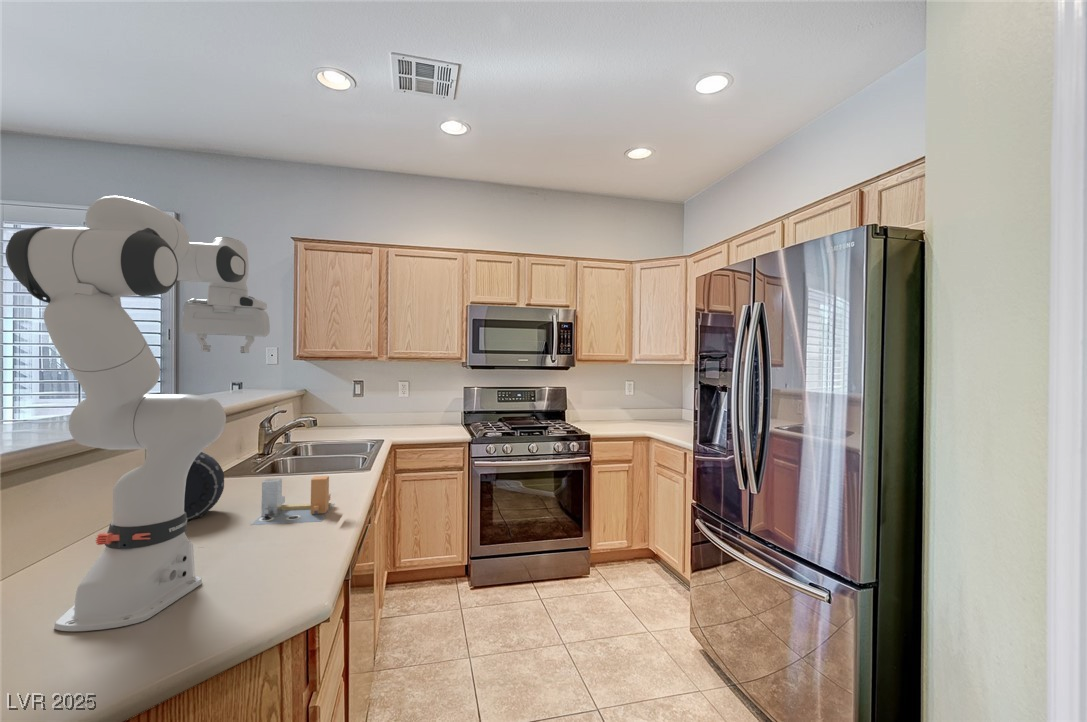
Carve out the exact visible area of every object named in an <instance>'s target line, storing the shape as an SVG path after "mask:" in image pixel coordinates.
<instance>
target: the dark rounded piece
mask: <svg viewBox="0 0 1087 722" xmlns="http://www.w3.org/2000/svg"><path fill="white" fill-rule="evenodd" d="M224 488H225V473H224V470H223V468H222V466H221V465H220V463H218V461H217V460H216V459H215V458H214V457H213V456H212V455H209V454H207V453H205V452H203V451H201V452H200V453H199V455H198V456H197V457H196V458H195V460H194V461H193V463H192V465H191V467H190V469H189V472H188V475H187V479H186V487H185V499H184V511H185V512H186V516H187V522H189V521H192V520H194V519H197V518H202V517H203V516H204V515H205V514H206V513H207V512H209V511H210V510H212V508H213V507H215V505H216V504H217V503H218V502H219V500H220V498H221V496H222V495H223V492H224Z"/></svg>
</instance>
